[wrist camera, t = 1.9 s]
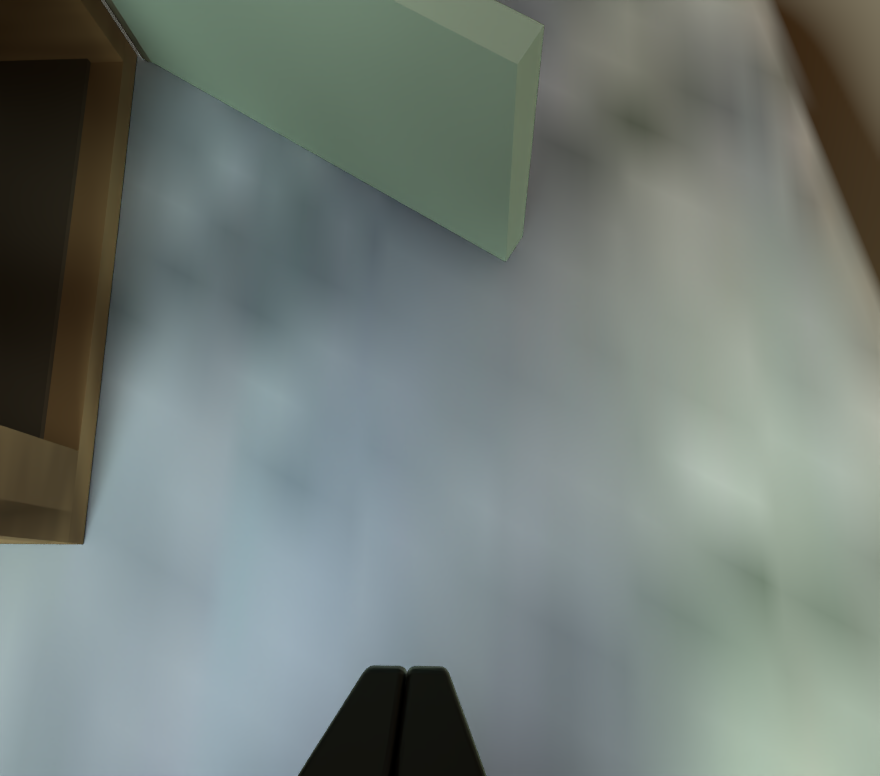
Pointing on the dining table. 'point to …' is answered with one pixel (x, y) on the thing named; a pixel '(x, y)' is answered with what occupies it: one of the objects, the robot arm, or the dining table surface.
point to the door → (374, 92)
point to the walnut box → (56, 252)
